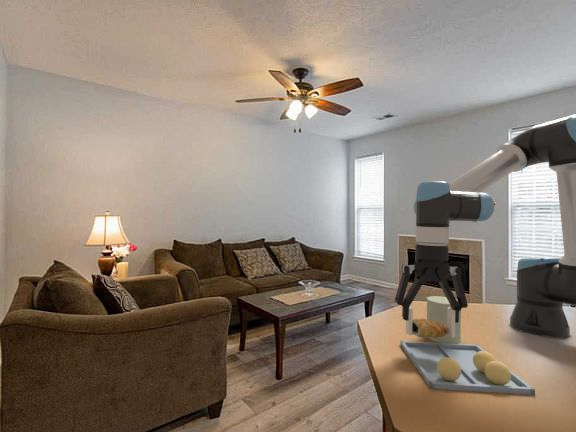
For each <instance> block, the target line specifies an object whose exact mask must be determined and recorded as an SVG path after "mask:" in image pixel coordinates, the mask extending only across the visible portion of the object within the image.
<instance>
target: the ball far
mask: <svg viewBox="0 0 576 432" xmlns="http://www.w3.org/2000/svg"><path fill="white" fill-rule="evenodd" d="M437 370H438V373H439V374H440V376H441V377H442V378H444V379H445V380H448V381H455V380H457V379H458V378H459V377H460V375H461V368H460V365H459V364H458V362H457V361H455V360H454V359H452V358H449V357H445V358H442V359H440V360H439V362H438V364H437Z"/></svg>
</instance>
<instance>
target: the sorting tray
mask: <svg viewBox="0 0 576 432" xmlns="http://www.w3.org/2000/svg"><path fill="white" fill-rule="evenodd" d="M400 347H401V348H402V350H403V351H404V352H405V354H406V355H407V357H408V358H409V359H410V360H411V362H412V364H413V365H414V367H415V368H416V370H417V371H418V372H419V373H420V375H421V377H422V379H424V381H425V383H426V384H427V386H428V387H429V389H430V390H433V389H434V390H449V391H465V392H482V393H496V394H497V393H500V394H515V395H529V396H530V395H536V389H535V388H534V387H532V386H531V385H530V384H529V383H527V382H526V381H525V380H523V379H522V378H521V377H520V376H518V375H517V374H516V373H514V372H513V371H512V370H511V369H509V370H510V373H511V379H510V381H509V383H507V384H506V385H496V384H494V383H492V382H491V381H490V380H489V379H488V378H487V377H486V374H485V373H483V372H480V371H479V370H478V369H477V368H476V367H475V366H474V363H473V356H474V354H475V353H477V352H479V351H486V350H485V349H483V348H482V347H481V346H480V345H479V344H474V343H473V344H471V343H470V344H469V343H468V344H467V343H456V344H452V343H440V342H430V341H429V342H428V341H427V342H426V341H408V340H400ZM445 357H449V358H452V359H454V360H455V361H457V362H458V364H459V365H460V368H461V375H460V377H459V378H458V379H457V380H455V381H448V380H445V379H444V378H442V377H441V376H440V374H439V373H438V370H437V364H438V362H439V360H440V359H442V358H445ZM496 361H499V360H498V359H496Z"/></svg>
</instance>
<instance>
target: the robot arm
mask: <svg viewBox="0 0 576 432" xmlns="http://www.w3.org/2000/svg"><path fill="white" fill-rule="evenodd" d="M544 163H548V168H549V169H550V170H552V171H553V172H555V173H556V179H557V180H556V181H557V191H558V202H559V209H560V210H559V211H560V212H559V213H560V221H561V233H562V243H563V256H562V257H560V258H558V257H542V258H541V257H535V258H531V257H530V258H529V257H528V258H526V257H525V258H521V259H518V261H517V268H516V304H515V305H514V307H513V309H512V312H511V315H510V317H509V325H510V326H511V327H513V328H515V329H516V330H518V331H521V332H524V333H528V334H531V335H536V336H540V337H541V336H542V337H547V338H559V339H561V338H567V337H570V335H571V328H570V325H569V323H568V320H567V316H566V315H565V311H564V307H563V305H564V304H565V305H568V306H569V305H570V306H573V307H576V113H575V114H571V115H568V116H564V117H560V118H558V119H554V120H550V121H546V122H544V123H540V124H536V125H533V126H532V127H530V128H528V129H526V130H524V131H522V132H521V133H519V134H518V135H516V136H514V137H512V138H511V139H509V140H508V141H506V142H505V143H503V144H501V145H500V146H499V147H498V148H497V149H496V151H495V153H493V154H492V155H490V156H489V157H487V158H486V159H484V160H482V161H481V162H479V163H478V164H476V165H475V166H473V167H472V168H470V169H469V170H467V171H466V172H464V173H463V174H461V175H460V176H458V177H455V179H453V180H451V181H449V182H448V181H443V180H442V181H437V180H436V181H435V180H434V181H424V182H420V183H419V184H418V185H417V189H416V196H415V201H414V203H413V211H414V214H415V218H416V219H415V223H416V224H415V242H416V243H417V244H416V245H414V246H415V250H414V251H415V253H414V254H415V255H414V256H415V257H414V258H415V259H414V260H415V261H414V263H413V264H410V265H408V264H402V266H401V277H400V279H399V285H398V288H397V290H396V294H395V297H394V301H395V303H396V304H397V305H398V306H401V310H402V312H401V313H402V315H401V317H402V319H403V320H404V321H405V332H406V333H407V334H408V336H412V335H413V334H412V319H413V313H414V312H413V310H414V309H413V307H412V306H411V305H412V303H413V301H414V299H415V298H416V296H417V294H418V292H419V291H420V289H421V287H422V286H423V285H424V284H425V283H431V282H433V283H438V284H439V285H440V288H441V290H442V291H443V293H444V295H445V296H444V297H446V298H447V299H448V301H449V303H450V305H451V308H450V307H447V334H448V335H450V336H451V337H455V323H458V322H459V311H461V312H462V309H467V308H468V307H469V305H468V302H467V300H468V299H467V297H466V292H465V287H464V285H463V280H462V273H463V269H462V267H458V266H450V265H449V252H450V251H449V249H450V248H449V246H448V245H447V244H449V243H450V228H449V227H450V222H451V221H452V222H453V221H454V222H475V223H477V222H485V221H487V220H489V219H490V218H491V217H492V215H494V214H493V213H494V212H495V201H494V199H493V197H492V196H491V195H490V194H488V193H486V192H484V191H485V190H487V189H489V188H490V187H491V186H493V185H494V184H496V183H497V182H499V181H501V180H502V179H503V178H505V177H507V176H508V175H510V174H511V173H516V172H520V171H522V170H524V169H525V168H527V167H530V166H534V165H538V164H544ZM413 271H415V273H416V276H415V277H414V281H413V283H412V284H411V286H410V288H409V289H408V291H407V288H408V285H409V281H410V278H411V274H412V273H413ZM448 273H449V274H450V275H451V280H452V283H453V288H454V292H455V295H454V293H453V291H452V289H451V287H450V285H449V282H448V280H447V279H446V276H447V274H448ZM406 291H407V293H406ZM455 296H456V297H455ZM456 299H457V300H456ZM457 301H458V302H457Z"/></svg>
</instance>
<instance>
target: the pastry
mask: <svg viewBox="0 0 576 432" xmlns="http://www.w3.org/2000/svg"><path fill="white" fill-rule="evenodd" d="M446 334H447V329H446V327H445V326H443V325H442V324H441V323H439V322H434V321H432V320H427V318H423V317H422V318H414V319H413V318H412V335H415V336H417V337H418V338H420V339H429V338H430V337H432V338H437V337H438V338H439V337H443V336H445V335H446Z"/></svg>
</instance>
